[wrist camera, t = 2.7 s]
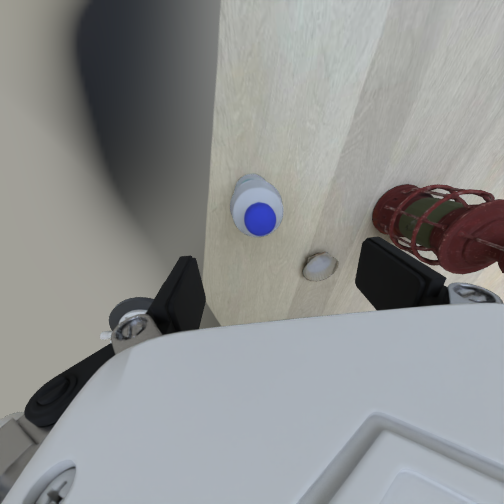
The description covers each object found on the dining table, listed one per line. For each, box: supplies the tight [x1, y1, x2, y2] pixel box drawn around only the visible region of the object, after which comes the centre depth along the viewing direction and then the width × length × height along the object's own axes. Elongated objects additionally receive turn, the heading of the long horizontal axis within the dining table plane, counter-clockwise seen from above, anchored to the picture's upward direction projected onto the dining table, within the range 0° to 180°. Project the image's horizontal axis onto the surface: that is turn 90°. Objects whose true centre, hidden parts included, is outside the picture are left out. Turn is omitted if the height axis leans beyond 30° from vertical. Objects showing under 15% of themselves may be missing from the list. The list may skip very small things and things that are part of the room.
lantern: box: [372, 184, 504, 274], centre depth 27 cm, size 12×12×30 cm
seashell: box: [303, 252, 338, 281], centre depth 44 cm, size 8×3×8 cm
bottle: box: [230, 174, 283, 237], centre depth 28 cm, size 7×7×20 cm
